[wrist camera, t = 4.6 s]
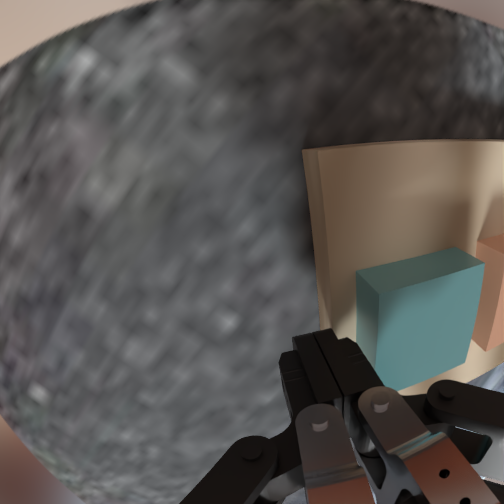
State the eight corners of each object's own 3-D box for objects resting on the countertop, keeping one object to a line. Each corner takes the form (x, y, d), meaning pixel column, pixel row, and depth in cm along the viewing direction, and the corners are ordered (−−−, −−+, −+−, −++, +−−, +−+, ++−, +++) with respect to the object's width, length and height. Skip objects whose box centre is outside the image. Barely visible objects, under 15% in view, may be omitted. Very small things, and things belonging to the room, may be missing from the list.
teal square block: (455, 246, 12) (485, 262, 10) (443, 340, 13) (464, 362, 11) (355, 270, 11) (378, 294, 10) (355, 371, 13) (371, 400, 11)
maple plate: (512, 140, 12) (537, 143, 10) (489, 346, 17) (505, 360, 15) (301, 149, 12) (317, 150, 10) (323, 409, 16) (333, 434, 14)
